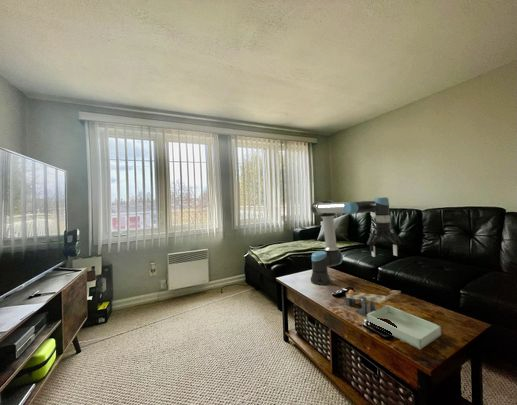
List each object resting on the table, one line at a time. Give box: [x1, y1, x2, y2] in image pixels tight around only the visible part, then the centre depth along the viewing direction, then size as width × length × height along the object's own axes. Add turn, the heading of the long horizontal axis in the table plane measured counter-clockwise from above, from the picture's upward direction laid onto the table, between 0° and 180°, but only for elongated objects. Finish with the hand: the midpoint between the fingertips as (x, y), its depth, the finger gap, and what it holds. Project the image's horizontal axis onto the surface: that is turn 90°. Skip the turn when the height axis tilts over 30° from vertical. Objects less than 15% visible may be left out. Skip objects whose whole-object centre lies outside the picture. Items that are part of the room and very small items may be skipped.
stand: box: [345, 293, 377, 318], centre depth 119 cm, size 18×10×9 cm, turn 27°
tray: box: [365, 304, 442, 350], centre depth 100 cm, size 24×18×4 cm
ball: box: [347, 289, 354, 295], centre depth 125 cm, size 3×3×3 cm
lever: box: [345, 289, 402, 304], centre depth 120 cm, size 22×18×3 cm
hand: (384, 255), depth 129 cm, fingers open, 13 cm apart
